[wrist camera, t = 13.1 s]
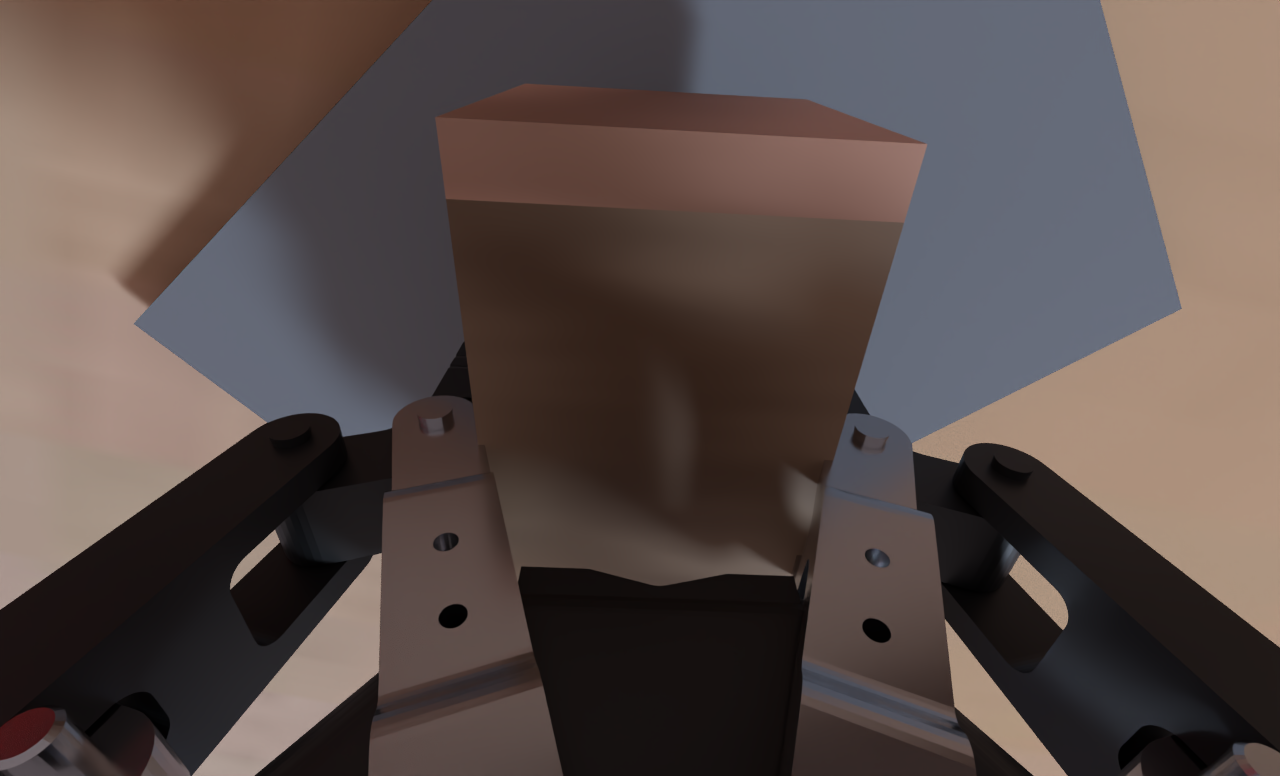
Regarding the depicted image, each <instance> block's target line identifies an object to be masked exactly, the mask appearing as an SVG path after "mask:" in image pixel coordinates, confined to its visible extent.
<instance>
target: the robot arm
mask: <svg viewBox="0 0 1280 776" xmlns="http://www.w3.org/2000/svg"><path fill="white" fill-rule="evenodd" d="M274 530H276V533H277V535H278V538H279V540H280V543H279V544H278V545H277V546H276V547H275V548H274V549H273V550H271V551H270V552H269V553H268V554H267V555H266V556H265V557H264V558H263V559H262V560H261V561H260V562H259V563H258V564H257V565H256V566H255V567H254V568H253V569H252V570H251V571H250V572H248V573H247V574H246V575H245V576H244V577H243V578H242V579H241V580H240V581H239V582H238V583H237V584H236V585H235V586H234V587H233V588H232V589H231V590H230V583H231V579H232V576H233V573H234V571H235V569H236V568H237V566H238V564H239V563H240V562H241V561H242V560H243V559H244V557H245V556H247V555H248V554H249V553H250V552H251V551H252V550H253V549H254V548H255V547H256V546H257V545H258V544H260V543H261V542H262V541H263V540H264V539H265V538H266V537H267V536H268V535H269V534H270V533H271V532H273V531H274ZM379 553H382V566H381V607H380V648H379V673H377V674H376V675H375V676H374V677H373V678H371V679H370V680H369V681H368V682H367V683H365V684H364V685H363V686H362V687H361V688H359V689H358V690H357V691H356V692H355V693H353V694H352V695H351V696H350V697H348V698H347V699H346V700H345V701H344V702H342V703H341V704H340V705H339V706H338V707H336V708H335V709H334V710H333V711H332V712H330V713H329V714H328V715H327V716H326V717H324V718H323V719H322V720H321V721H320V722H318V723H317V724H316V725H315V726H314V727H312V728H311V729H310V730H309V731H308V732H306V733H305V734H304V735H303V736H302V737H300V738H299V739H298V740H297V741H296V742H294V743H293V744H292V745H291V746H290V747H288V748H287V749H286V750H285V751H284V752H282V753H281V754H280V755H279V756H278V757H276V758H275V759H274V760H273V761H272V762H270V763H269V764H268V765H267V766H266V767H264V768H263V769H262V770H261V771H260V772H258V773H257V774H256V775H255V776H1033V775H1032V774H1031V773H1030V772H1028V771H1027V770H1026V769H1025V768H1024V767H1023V766H1022V765H1020V764H1019V763H1018V762H1017V761H1016V760H1015V759H1014V758H1012V757H1011V756H1010V755H1009V754H1008V753H1007V752H1006V751H1004V750H1003V749H1002V748H1001V747H1000V746H999V745H998V744H996V743H995V742H994V741H993V740H992V739H991V738H990V737H988V736H987V735H986V734H985V733H984V732H983V731H981V730H980V729H979V728H978V727H977V726H976V725H975V724H973V723H972V722H971V721H970V720H969V719H968V718H967V717H965V716H964V715H963V714H962V713H961V712H960V711H959V710H957V709H956V708H955V707H954V699H953V690H952V681H951V671H950V662H949V653H948V644H947V635H946V626H945V619H946V621H947V622H948V623H949V624H950V626H951V627H952V628H953V630H954V631H955V632H956V633H957V635H958V636H959V637H960V639H961V640H962V641H963V642H964V644H965V645H966V646H967V647H968V649H969V650H970V651H971V653H972V654H973V655H974V656H975V658H976V659H977V660H978V662H979V663H980V664H981V665H982V667H983V668H984V669H985V670H986V672H987V673H988V674H989V676H990V677H991V678H992V679H993V681H994V682H995V683H996V685H997V686H998V687H999V688H1000V690H1001V691H1002V692H1003V694H1004V695H1005V696H1006V697H1007V699H1008V700H1009V701H1010V702H1011V704H1012V705H1013V706H1014V708H1015V709H1016V710H1017V711H1018V713H1019V714H1020V715H1021V717H1022V718H1023V719H1024V720H1025V722H1026V723H1027V724H1028V725H1029V727H1030V728H1031V729H1032V731H1033V732H1034V733H1035V734H1036V736H1037V737H1038V738H1039V740H1040V741H1041V742H1042V743H1043V745H1044V746H1045V747H1046V749H1047V750H1048V751H1049V752H1050V754H1051V755H1052V756H1053V757H1054V759H1055V760H1056V761H1057V763H1058V764H1059V765H1060V766H1061V768H1062V769H1063V770H1064V772H1065V773H1066V774H1067V775H1068V776H1280V648H1279V647H1278V646H1277V645H1276V644H1274V643H1273V642H1272V641H1270V640H1269V639H1268V638H1267V637H1265V636H1264V635H1263V634H1261V633H1260V632H1259V631H1258V630H1256V629H1255V628H1254V627H1252V626H1251V625H1250V624H1249V623H1247V622H1246V621H1245V620H1243V619H1242V618H1241V617H1240V616H1238V615H1237V614H1236V613H1234V612H1233V611H1232V610H1231V609H1229V608H1228V607H1227V606H1225V605H1224V604H1223V603H1222V602H1220V601H1219V600H1218V599H1216V598H1215V597H1214V596H1213V595H1211V594H1210V593H1209V592H1207V591H1206V590H1205V589H1204V588H1202V587H1201V586H1200V585H1198V584H1197V583H1196V582H1195V581H1193V580H1192V579H1191V578H1189V577H1188V576H1187V575H1186V574H1184V573H1183V572H1182V571H1181V570H1179V569H1178V568H1177V567H1175V566H1174V565H1173V564H1172V563H1170V562H1169V561H1168V560H1166V559H1165V558H1164V557H1163V556H1161V555H1160V554H1159V553H1157V552H1156V551H1155V550H1154V549H1152V548H1151V547H1150V546H1148V545H1147V544H1146V543H1145V542H1143V541H1142V540H1141V539H1139V538H1138V537H1137V536H1136V535H1134V534H1133V533H1132V532H1130V531H1129V530H1128V529H1127V528H1125V527H1124V526H1123V525H1121V524H1120V523H1119V522H1118V521H1116V520H1115V519H1114V518H1112V517H1111V516H1110V515H1109V514H1107V513H1106V512H1105V511H1103V510H1102V509H1101V508H1100V507H1098V506H1097V505H1096V504H1094V503H1093V502H1092V501H1091V500H1089V499H1088V498H1087V497H1085V496H1084V495H1083V494H1082V493H1080V492H1079V491H1078V490H1076V489H1075V488H1074V487H1073V486H1071V485H1070V484H1069V483H1067V482H1066V481H1065V480H1064V479H1062V478H1061V477H1060V476H1058V475H1057V474H1056V473H1055V472H1053V471H1052V470H1051V469H1049V468H1048V467H1047V466H1046V465H1044V464H1043V463H1042V462H1040V461H1039V460H1037V459H1035V458H1034V457H1032V456H1030V455H1028V454H1026V453H1024V452H1022V451H1019V450H1017V449H1014V448H1011V447H1008V446H1003V445H999V444H992V443H979V444H974V445H972V446H969V447H968V448H967V449H966V450H965V452H964V454H963V456H962V458H961V460H960V462H959V463H955V462H951V461H947V460H943V459H939V458H934V457H930V456H926V455H922V454H919V453H916V452H913V450H912V443H911V441H910V439H909V437H908V436H907V435H906V434H905V433H904V432H903V431H902V430H901V429H900V428H898V427H897V426H895V425H894V424H892V423H890V422H888V421H886V420H884V419H881V418H878V417H875V416H871V415H870V414H869V412H868V411H867V409H866V407H865V406H864V404H863V402H862V401H861V399H860V397H859V396H858V394H857V392H856V391H855V389H854V393H853V396H852V400H851V403H850V406H849V410H848V413H847V416H846V420H845V423H844V426H843V430H842V433H841V436H840V440H839V443H838V447H837V450H836V453H835V457H834V460H824V462H823V466H822V469H821V473H820V476H819V480H818V483H817V489H816V495H815V502H814V509H813V515H812V520H811V525H810V529H809V533H808V537H807V541H806V544H805V548H804V551H803V555H796V559H795V562H794V566H793V569H792V573H791V576H776V575H748V574H723V575H718V576H713V577H707V578H702V579H697V580H692V581H686V582H681V583H676V584H670V585H664V586H655V585H650V584H646V583H642V582H639V581H635V580H631V579H627V578H623V577H619V576H615V575H611V574H607V573H604V572H600V571H596V570H592V569H583V568H555V567H528V566H521V570H520V575H519V579H518V581H517V577H516V572H515V568H514V563H513V558H512V554H511V549H510V545H509V540H508V536H507V531H506V527H505V522H504V517H503V513H502V508H501V504H500V499H499V495H498V490H497V485H496V481H495V477H494V473H493V472H490V467H489V463H488V458H487V453H486V448H485V445H478V441H477V433H476V425H475V418H474V410H473V402H472V395H471V387H470V379H469V372H468V364H467V356H466V349H465V341H464V342H463V344H462V345H461V347H460V349H459V350H458V352H457V354H456V357H454V359H453V361H452V362H451V364H450V368H448V369H447V371H446V373H445V374H444V376H443V378H442V380H441V381H440V383H439V385H438V386H437V388H436V390H435V392H434V393H433V395H432V397H427V398H423V399H420V400H417V401H414V402H412V403H410V404H408V405H407V406H405V407H403V408H402V409H401V410H400V411H399V412H398V413H397V414H396V415H395V417H394V419H393V423H392V428H390V429H387V430H382V431H377V432H371V433H364V434H357V435H351V436H344V437H343V436H342V432H341V429H340V425H339V423H338V422H337V421H336V420H335V419H334V418H332V417H330V416H328V415H324V414H318V413H301V414H294V415H290V416H285V417H282V418H279V419H276V420H273V421H271V422H268V423H266V424H264V425H262V426H261V427H259V428H257V429H256V430H254V431H253V432H251V433H250V434H249V435H247V436H246V437H244V438H243V439H242V440H240V441H239V442H237V443H236V444H234V445H233V446H232V447H230V448H229V449H227V450H226V451H225V452H223V453H222V454H220V455H219V456H217V457H216V458H215V459H213V460H212V461H210V462H209V463H208V464H206V465H205V466H203V467H202V468H201V469H199V470H198V471H196V472H195V473H193V474H192V475H191V476H189V477H188V478H186V479H185V480H184V481H182V482H181V483H179V484H178V485H176V486H175V487H174V488H172V489H171V490H169V491H168V492H167V493H165V494H164V495H162V496H161V497H159V498H158V499H157V500H155V501H154V502H152V503H151V504H150V505H148V506H147V507H145V508H144V509H142V510H141V511H140V512H138V513H137V514H135V515H134V516H133V517H131V518H130V519H128V520H127V521H125V522H124V523H123V524H121V525H120V526H118V527H117V528H116V529H114V530H113V531H111V532H110V533H108V534H107V535H106V536H104V537H103V538H101V539H100V540H99V541H97V542H96V543H94V544H93V545H92V546H90V547H89V548H87V549H86V550H84V551H83V552H82V553H80V554H79V555H77V556H76V557H75V558H73V559H72V560H70V561H69V562H67V563H66V564H65V565H63V566H62V567H60V568H59V569H58V570H56V571H55V572H53V573H52V574H50V575H49V576H48V577H46V578H45V579H43V580H42V581H41V582H39V583H38V584H36V585H35V586H33V587H32V588H31V589H29V590H28V591H26V592H25V593H24V594H22V595H21V596H19V597H18V598H16V599H15V600H14V601H12V602H11V603H9V604H8V605H7V606H5V607H4V608H2V609H1V610H0V776H192V775H193V774H194V772H195V771H196V770H197V769H198V768H199V766H200V765H201V764H202V763H203V762H204V760H205V759H206V758H207V757H208V756H209V754H210V753H211V752H212V751H213V750H214V748H215V747H216V746H217V745H218V744H219V742H220V741H221V740H222V739H223V738H224V736H225V735H226V734H227V733H228V732H229V730H230V729H231V728H232V727H233V726H234V724H235V723H236V722H237V721H238V720H239V718H240V717H241V716H242V715H243V714H244V712H245V711H246V710H247V709H248V708H249V706H250V705H251V704H252V703H253V701H254V700H255V699H256V698H257V697H258V695H259V694H260V693H261V692H262V691H263V689H264V688H265V687H266V686H267V685H268V683H269V682H270V681H271V680H272V679H273V677H274V676H275V675H276V674H277V673H278V671H279V670H280V669H281V668H282V667H283V665H284V664H285V663H286V662H287V661H288V659H289V658H290V657H291V656H292V655H293V653H294V652H295V651H296V650H297V649H298V647H299V646H300V645H301V644H302V643H303V641H304V640H305V639H306V638H307V637H308V635H309V634H310V633H311V632H312V631H313V629H314V628H315V627H316V626H317V625H318V623H319V622H320V621H321V620H322V619H323V617H324V616H325V615H326V614H327V613H328V611H329V610H330V609H331V608H332V607H333V605H334V604H335V603H336V602H337V600H338V599H339V598H340V597H341V596H342V594H343V593H344V592H345V591H346V590H347V588H348V587H349V586H350V585H351V584H352V582H353V581H354V580H355V579H356V578H357V576H358V575H359V574H360V573H361V572H362V570H363V569H364V568H365V567H366V566H367V564H368V563H369V561H370V560H371V558H372V556H373V555H375V554H379ZM1020 554H1021V555H1022V556H1023V557H1024V558H1025V559H1026V560H1027V561H1028V562H1029V563H1030V564H1031V565H1032V566H1033V567H1034V568H1035V569H1036V570H1037V571H1038V572H1039V573H1040V574H1041V575H1042V576H1043V577H1044V578H1045V579H1046V580H1047V581H1048V582H1049V583H1050V584H1051V585H1052V586H1054V587H1055V589H1056V590H1057V591H1058V592H1059V593H1060V595H1061V596H1062V598H1063V599H1064V601H1065V603H1066V606H1067V609H1068V623H1067V625H1066V627H1065V629H1064V630H1062V629H1061V628H1060V627H1059V626H1058V625H1057V624H1056V623H1055V622H1054V621H1053V620H1052V619H1051V618H1050V616H1049V615H1048V614H1047V613H1046V612H1045V611H1044V610H1043V609H1042V608H1041V607H1040V606H1039V605H1038V604H1037V603H1036V602H1035V601H1034V600H1033V599H1032V598H1031V597H1030V596H1029V595H1028V594H1027V593H1026V592H1025V590H1024V589H1023V588H1022V587H1021V586H1020V585H1019V584H1018V583H1017V582H1016V581H1015V580H1014V579H1013V578H1012V577H1011V576H1010V575H1009V572H1010V571H1011V569H1012V567H1013V566H1014V564H1015V562H1016V561H1017V559H1018V557H1019V556H1020Z"/></svg>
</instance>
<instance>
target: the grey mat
mask: <svg viewBox="0 0 1280 776" xmlns="http://www.w3.org/2000/svg"><path fill="white" fill-rule="evenodd" d="M523 84H542V85H559V86H577V87H595V88H613V89H630V90H648V91H666V92H684V93H702V94H719V95H737V96H755V97H773V98H790V99H807V100H810V101H812V102H815V103H818V104H821V105H823V106H826V107H829V108H831V109H834V110H837V111H839V112H842V113H845V114H848V115H850V116H853V117H856V118H858V119H861V120H864V121H866V122H869V123H872V124H874V125H877V126H880V127H883V128H885V129H888V130H891V131H893V132H896V133H899V134H901V135H904V136H907V137H910V138H912V139H915V140H918V141H920V142H923V143H926V144H927V148H926V151H925V154H924V158H923V161H922V164H921V168H920V171H919V175H918V178H917V181H916V185H915V188H914V191H913V195H912V198H911V201H910V205H909V208H908V211H907V215H906V218H905V222H904V225H903V228H902V232H901V235H900V238H899V242H898V245H897V248H896V252H895V255H894V258H893V262H892V265H891V269H890V272H889V275H888V279H887V282H886V285H885V289H884V292H883V295H882V299H881V302H880V305H879V309H878V312H877V316H876V319H875V322H874V326H873V329H872V332H871V336H870V339H869V342H868V346H867V349H866V352H865V356H864V359H863V363H862V366H861V369H860V373H859V376H858V379H857V383H856V386H855V391H856V392H857V394H858V396H859V397H860V399H861V401H862V402H863V404H864V406H865V407H866V409H867V411H868V412H869V414H870V415H871V416H875V417H878V418H881V419H884V420H886V421H888V422H890V423H892V424H894V425H895V426H897V427H898V428H900V429H901V430H902V431H903V432H904V433H905V434H906V435H907V436H908V437H909V439H910V441H911V443H913V442H915V441H917V440H919V439H921V438H923V437H925V436H927V435H929V434H931V433H933V432H935V431H937V430H939V429H941V428H943V427H945V426H947V425H949V424H951V423H953V422H955V421H957V420H959V419H961V418H963V417H965V416H967V415H969V414H971V413H973V412H975V411H977V410H979V409H981V408H983V407H985V406H987V405H989V404H991V403H993V402H995V401H997V400H999V399H1001V398H1003V397H1005V396H1007V395H1009V394H1011V393H1013V392H1015V391H1017V390H1019V389H1021V388H1023V387H1025V386H1027V385H1029V384H1031V383H1033V382H1035V381H1037V380H1039V379H1041V378H1043V377H1045V376H1047V375H1049V374H1051V373H1053V372H1055V371H1057V370H1059V369H1061V368H1063V367H1065V366H1068V365H1070V364H1072V363H1074V362H1076V361H1078V360H1080V359H1082V358H1084V357H1086V356H1088V355H1090V354H1092V353H1094V352H1096V351H1098V350H1100V349H1102V348H1104V347H1106V346H1108V345H1110V344H1112V343H1114V342H1116V341H1118V340H1120V339H1122V338H1124V337H1126V336H1128V335H1130V334H1132V333H1134V332H1136V331H1138V330H1140V329H1142V328H1144V327H1146V326H1148V325H1150V324H1152V323H1154V322H1156V321H1158V320H1160V319H1162V318H1164V317H1166V316H1168V315H1170V314H1172V313H1174V312H1176V311H1178V310H1180V309H1182V308H1181V305H1180V301H1179V297H1178V293H1177V289H1176V286H1175V282H1174V278H1173V274H1172V271H1171V267H1170V263H1169V259H1168V255H1167V252H1166V248H1165V244H1164V240H1163V237H1162V233H1161V229H1160V225H1159V222H1158V218H1157V214H1156V210H1155V206H1154V203H1153V199H1152V195H1151V191H1150V188H1149V184H1148V180H1147V176H1146V172H1145V169H1144V165H1143V161H1142V157H1141V154H1140V150H1139V146H1138V142H1137V139H1136V135H1135V131H1134V127H1133V123H1132V120H1131V116H1130V112H1129V108H1128V105H1127V101H1126V97H1125V93H1124V89H1123V86H1122V82H1121V78H1120V74H1119V71H1118V67H1117V63H1116V59H1115V55H1114V52H1113V48H1112V44H1111V40H1110V37H1109V33H1108V29H1107V25H1106V22H1105V18H1104V14H1103V10H1102V6H1101V3H1100V0H432V1H431V2H430V3H429V4H428V6H427V7H426V8H425V9H424V10H423V11H422V12H421V13H420V14H419V15H418V16H417V17H416V19H415V20H414V21H413V22H412V23H411V24H410V25H409V26H408V27H407V28H406V29H405V30H404V32H403V33H402V34H401V35H400V36H399V37H398V38H397V39H396V40H395V41H394V42H393V43H392V45H391V46H390V47H389V48H388V49H387V50H386V51H385V52H384V53H383V54H382V55H381V56H380V57H379V59H378V60H377V61H376V62H375V63H374V64H373V65H372V66H371V67H370V68H369V69H368V70H367V72H366V73H365V74H364V75H363V76H362V77H361V78H360V79H359V80H358V81H357V82H356V83H355V85H354V86H353V87H352V88H351V89H350V90H349V91H348V92H347V93H346V94H345V95H344V96H343V98H342V99H341V100H340V101H339V102H338V103H337V104H336V105H335V106H334V107H333V108H332V109H331V111H330V112H329V113H328V114H327V115H326V116H325V117H324V118H323V119H322V120H321V121H320V122H319V124H318V125H317V126H316V127H315V128H314V129H313V130H312V131H311V132H310V133H309V134H308V135H307V137H306V138H305V139H304V140H303V141H302V142H301V143H300V144H299V145H298V146H297V147H296V148H295V150H294V151H293V152H292V153H291V154H290V155H289V156H288V157H287V158H286V159H285V160H284V161H283V163H282V164H281V165H280V166H279V167H278V168H277V169H276V170H275V171H274V172H273V173H272V174H271V176H270V177H269V178H268V179H267V180H266V181H265V182H264V183H263V184H262V185H261V186H260V187H259V189H258V190H257V191H256V192H255V193H254V194H253V195H252V196H251V197H250V198H249V199H248V200H247V202H246V203H245V204H244V205H243V206H242V207H241V208H240V209H239V210H238V211H237V212H236V213H235V215H234V216H233V217H232V218H231V219H230V220H229V221H228V222H227V223H226V224H225V225H224V226H223V228H222V229H221V230H220V231H219V232H218V233H217V234H216V235H215V236H214V237H213V238H212V239H211V241H210V242H209V243H208V244H207V245H206V246H205V247H204V248H203V249H202V250H201V251H200V252H199V254H198V255H197V256H196V257H195V258H194V259H193V260H192V261H191V262H190V263H189V264H188V265H187V266H186V268H185V269H184V270H183V271H182V272H181V273H180V274H179V275H178V276H177V277H176V278H175V279H174V281H173V282H172V283H171V284H170V285H169V286H168V287H167V288H166V289H165V290H164V291H163V292H162V294H161V295H160V296H159V297H158V298H157V299H156V300H155V301H154V302H153V303H152V304H151V305H150V307H149V308H148V309H147V310H146V311H145V312H144V313H143V314H142V315H141V316H140V317H139V318H138V320H137V321H136V322H135V323H134V324H135V325H136V326H137V327H139V328H140V329H142V330H143V331H144V332H146V333H147V334H148V335H150V336H151V337H152V338H154V339H155V340H156V341H158V342H159V343H161V344H162V345H163V346H165V347H166V348H167V349H169V350H170V351H171V352H173V353H174V354H175V355H177V356H178V357H180V358H181V359H182V360H184V361H185V362H186V363H188V364H189V365H190V366H192V367H193V368H194V369H196V370H197V371H198V372H200V373H201V374H203V375H204V376H205V377H207V378H208V379H209V380H211V381H212V382H213V383H215V384H216V385H217V386H219V387H220V388H222V389H223V390H224V391H226V392H227V393H228V394H230V395H231V396H232V397H234V398H235V399H236V400H238V401H239V402H241V403H242V404H243V405H245V406H246V407H247V408H249V409H250V410H251V411H253V412H254V413H255V414H257V415H258V416H260V417H261V418H262V419H264V420H265V421H266V422H271V421H273V420H276V419H279V418H282V417H285V416H290V415H294V414H301V413H318V414H324V415H328V416H330V417H332V418H334V419H335V420H336V421H337V422H338V423H339V425H340V429H341V432H342V436H343V437H344V436H351V435H357V434H364V433H371V432H377V431H382V430H387V429H390V428H392V423H393V419H394V417H395V415H396V414H397V413H398V412H399V411H400V410H401V409H402V408H403V407H405V406H407V405H408V404H410V403H412V402H414V401H417V400H420V399H423V398H427V397H432V395H433V393H434V392H435V390H436V388H437V386H438V385H439V383H440V381H441V380H442V378H443V376H444V374H445V373H446V371H447V369H448V368H450V364H451V362H452V361H453V359H454V357H456V354H457V352H458V350H459V349H460V347H461V345H462V344H463V342H464V334H463V326H462V318H461V311H460V303H459V295H458V288H457V280H456V272H455V265H454V257H453V249H452V242H451V234H450V226H449V219H448V211H447V203H446V196H445V188H444V181H443V173H442V165H441V158H440V150H439V142H438V135H437V127H436V119H435V117H437V116H440V115H442V114H445V113H448V112H450V111H453V110H456V109H458V108H461V107H464V106H466V105H469V104H472V103H475V102H477V101H480V100H483V99H485V98H488V97H491V96H493V95H496V94H499V93H501V92H504V91H507V90H509V89H512V88H515V87H517V86H520V85H523Z"/></svg>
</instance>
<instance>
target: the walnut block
mask: <svg viewBox="0 0 1280 776" xmlns="http://www.w3.org/2000/svg"><path fill="white" fill-rule="evenodd" d="M435 119H436V127H437V135H438V142H439V150H440V158H441V165H442V173H443V181H444V188H445V196H446V203H447V211H448V219H449V226H450V234H451V242H452V249H453V257H454V265H455V272H456V280H457V288H458V295H459V303H460V311H461V318H462V326H463V334H464V341H465V349H466V356H467V364H468V372H469V379H470V387H471V395H472V402H473V410H474V418H475V425H476V433H477V441H478V445H485V448H486V453H487V458H488V463H489V467H490V472H493V473H494V477H495V481H496V485H497V490H498V495H499V499H500V504H501V508H502V513H503V517H504V522H505V527H506V531H507V536H508V540H509V545H510V549H511V554H512V558H513V563H514V568H515V572H516V577H517V581H518V579H519V575H520V570H521V566H528V567H555V568H583V569H592V570H596V571H600V572H604V573H607V574H611V575H615V576H619V577H623V578H627V579H631V580H635V581H639V582H642V583H646V584H650V585H655V586H664V585H670V584H676V583H681V582H686V581H692V580H697V579H702V578H707V577H713V576H718V575H723V574H748V575H776V576H791V573H792V569H793V566H794V562H795V559H796V555H803V551H804V548H805V544H806V541H807V537H808V533H809V529H810V525H811V520H812V515H813V509H814V502H815V495H816V489H817V483H818V480H819V476H820V473H821V469H822V466H823V462H824V460H834V457H835V453H836V450H837V447H838V443H839V440H840V436H841V433H842V430H843V426H844V423H845V420H846V416H847V413H848V410H849V406H850V403H851V400H852V396H853V393H854V389H855V386H856V383H857V379H858V376H859V373H860V369H861V366H862V363H863V359H864V356H865V352H866V349H867V346H868V342H869V339H870V336H871V332H872V329H873V326H874V322H875V319H876V316H877V312H878V309H879V305H880V302H881V299H882V295H883V292H884V289H885V285H886V282H887V279H888V275H889V272H890V269H891V265H892V262H893V258H894V255H895V252H896V248H897V245H898V242H899V238H900V235H901V232H902V228H903V225H904V222H905V218H906V215H907V211H908V208H909V205H910V201H911V198H912V195H913V191H914V188H915V185H916V181H917V178H918V175H919V171H920V168H921V164H922V161H923V158H924V154H925V151H926V148H927V144H926V143H923V142H920V141H918V140H915V139H912V138H910V137H907V136H904V135H901V134H899V133H896V132H893V131H891V130H888V129H885V128H883V127H880V126H877V125H874V124H872V123H869V122H866V121H864V120H861V119H858V118H856V117H853V116H850V115H848V114H845V113H842V112H839V111H837V110H834V109H831V108H829V107H826V106H823V105H821V104H818V103H815V102H812V101H810V100H807V99H790V98H773V97H755V96H737V95H719V94H702V93H684V92H666V91H648V90H630V89H613V88H595V87H577V86H559V85H542V84H523V85H520V86H517V87H515V88H512V89H509V90H507V91H504V92H501V93H499V94H496V95H493V96H491V97H488V98H485V99H483V100H480V101H477V102H475V103H472V104H469V105H466V106H464V107H461V108H458V109H456V110H453V111H450V112H448V113H445V114H442V115H440V116H437V117H435Z"/></svg>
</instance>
